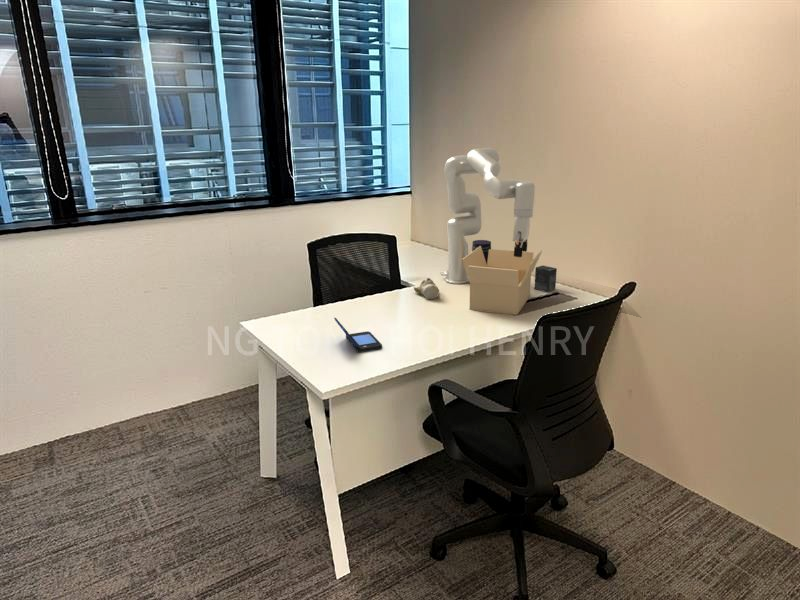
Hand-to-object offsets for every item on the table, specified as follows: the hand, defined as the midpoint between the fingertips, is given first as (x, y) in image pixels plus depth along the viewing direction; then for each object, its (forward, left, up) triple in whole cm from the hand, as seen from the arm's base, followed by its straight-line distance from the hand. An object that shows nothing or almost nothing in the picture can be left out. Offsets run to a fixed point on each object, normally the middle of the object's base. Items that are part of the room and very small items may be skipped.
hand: (520, 253), depth 220 cm
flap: (+5, -1, -5) cm, 7 cm away
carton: (-9, -1, -22) cm, 24 cm away
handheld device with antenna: (-43, -63, -23) cm, 80 cm away
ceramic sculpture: (-40, -3, -22) cm, 46 cm away
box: (+7, +25, -22) cm, 34 cm away
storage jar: (-30, +49, -22) cm, 62 cm away
